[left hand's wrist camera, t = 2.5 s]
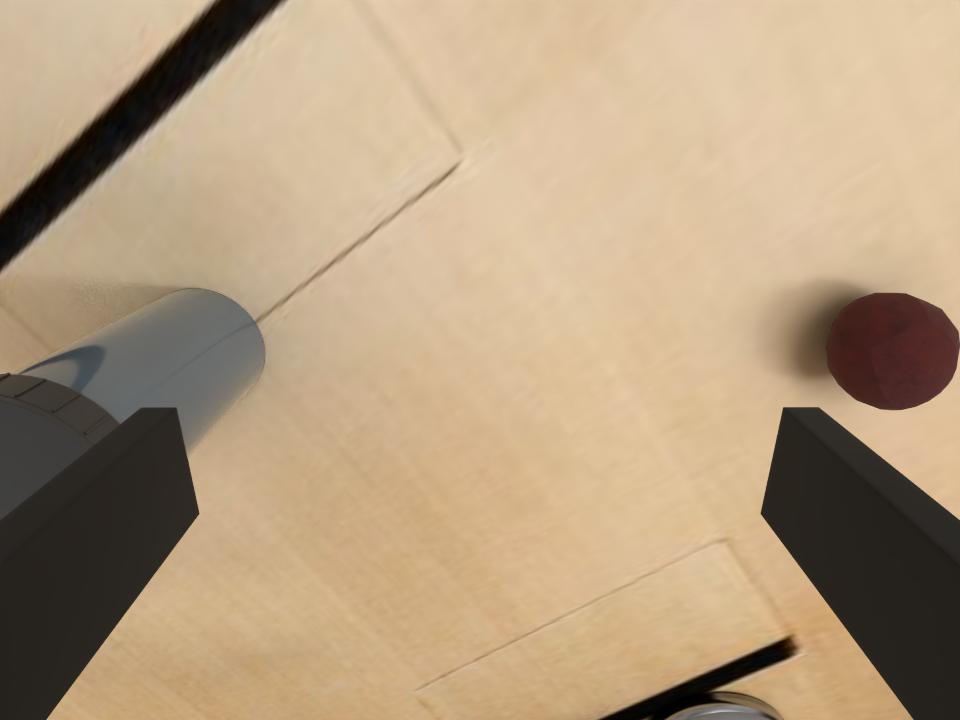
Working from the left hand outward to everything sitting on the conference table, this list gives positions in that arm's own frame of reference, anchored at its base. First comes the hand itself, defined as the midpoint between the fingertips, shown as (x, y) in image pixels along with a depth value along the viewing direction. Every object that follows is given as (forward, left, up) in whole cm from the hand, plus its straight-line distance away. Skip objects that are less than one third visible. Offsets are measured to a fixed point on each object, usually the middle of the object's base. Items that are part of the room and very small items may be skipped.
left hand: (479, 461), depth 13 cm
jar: (+8, -20, -28) cm, 35 cm away
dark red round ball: (+6, +27, -28) cm, 39 cm away
